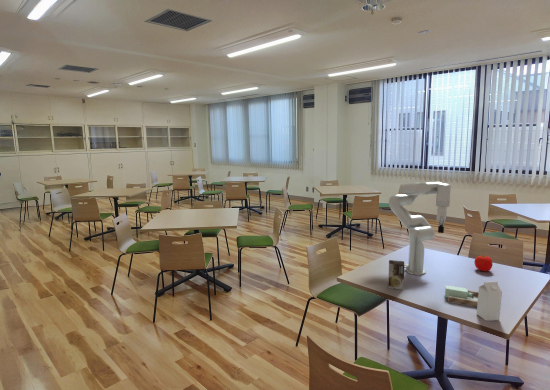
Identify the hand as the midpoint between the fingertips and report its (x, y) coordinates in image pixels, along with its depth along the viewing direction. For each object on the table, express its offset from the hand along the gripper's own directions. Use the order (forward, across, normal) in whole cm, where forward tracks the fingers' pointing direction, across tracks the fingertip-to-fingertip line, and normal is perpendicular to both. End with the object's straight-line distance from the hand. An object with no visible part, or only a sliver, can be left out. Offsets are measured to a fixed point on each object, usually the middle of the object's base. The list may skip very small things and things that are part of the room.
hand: (440, 232), depth 208 cm
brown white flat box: (+33, +19, +16) cm, 41 cm away
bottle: (+30, +19, +4) cm, 36 cm away
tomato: (+33, -37, +28) cm, 57 cm away
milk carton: (+33, +36, +24) cm, 55 cm away
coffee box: (+33, +18, -23) cm, 44 cm away
